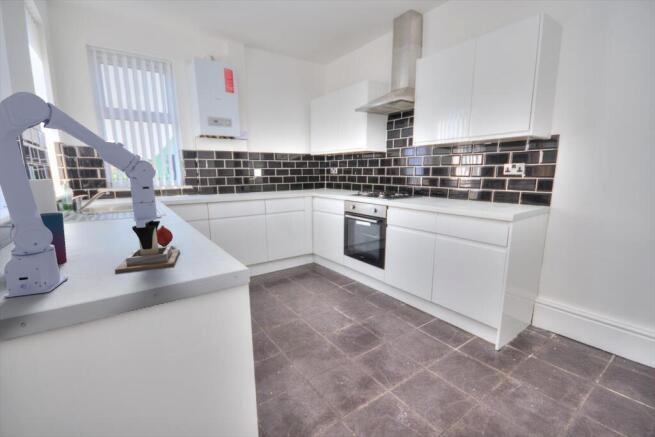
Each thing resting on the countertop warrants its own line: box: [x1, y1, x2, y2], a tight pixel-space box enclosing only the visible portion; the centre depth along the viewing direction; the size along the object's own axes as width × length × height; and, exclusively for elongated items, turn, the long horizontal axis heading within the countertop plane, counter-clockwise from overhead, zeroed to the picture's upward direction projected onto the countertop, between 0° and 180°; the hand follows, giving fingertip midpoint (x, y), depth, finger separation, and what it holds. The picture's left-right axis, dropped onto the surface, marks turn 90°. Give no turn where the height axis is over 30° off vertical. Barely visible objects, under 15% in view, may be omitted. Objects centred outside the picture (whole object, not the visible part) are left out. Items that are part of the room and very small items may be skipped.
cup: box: [40, 212, 68, 265], centre depth 86 cm, size 7×7×15 cm
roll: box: [138, 227, 159, 256], centre depth 87 cm, size 5×5×8 cm
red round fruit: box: [156, 225, 174, 247], centre depth 104 cm, size 6×6×8 cm
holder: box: [114, 245, 181, 274], centre depth 87 cm, size 16×14×3 cm
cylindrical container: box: [29, 178, 59, 214], centre depth 92 cm, size 7×7×25 cm
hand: (149, 246), depth 87 cm, fingers closed on roll, 5 cm apart
